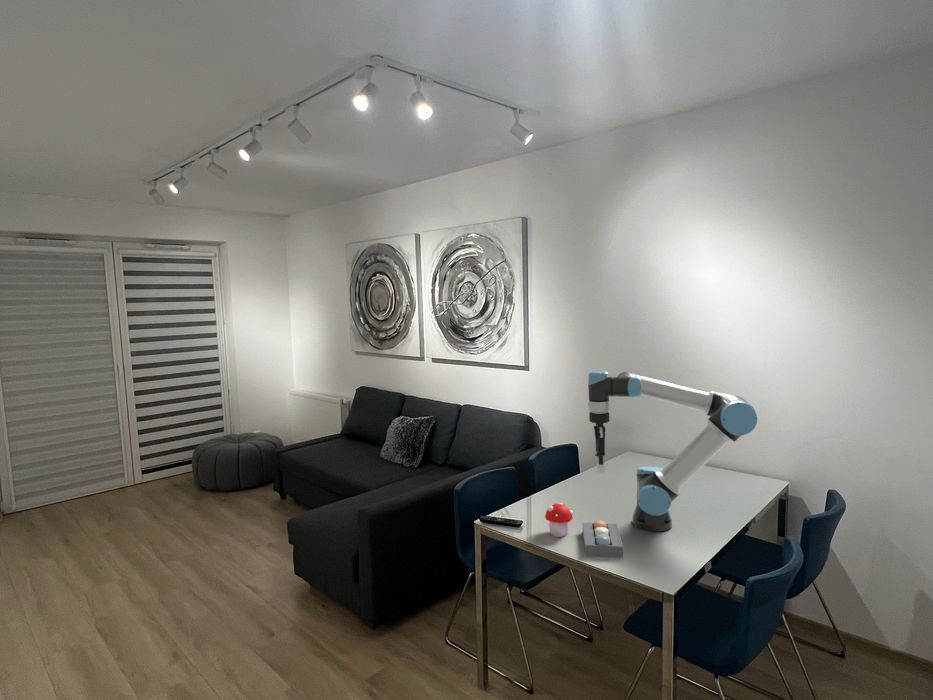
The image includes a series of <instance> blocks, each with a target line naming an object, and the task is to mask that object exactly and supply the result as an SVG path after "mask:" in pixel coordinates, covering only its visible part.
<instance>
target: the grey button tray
mask: <svg viewBox="0 0 933 700" xmlns="http://www.w3.org/2000/svg"><path fill="white" fill-rule="evenodd" d="M607 529H608V536H609V537H610V545H596V537H595V530H594V522H582V538H583V546H584V554H585V557H601V558H602V557H603V558H618V559H619V558H624V545H623V542H622V538H621V534H620V531H619V527H618V524H617V523H607Z"/></svg>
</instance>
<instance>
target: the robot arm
mask: <svg viewBox="0 0 933 700" xmlns="http://www.w3.org/2000/svg"><path fill="white" fill-rule="evenodd" d="M587 385H588V387H587V389H588V403H587V406H588V408H589V409H588V410H589V414H588V415H589V417H588V418H589V420H588V421H589V422H590V423H592V424H595V425H593V430H594V439H595V452H596V453H595V457H596V473H605V471H606V470H605V456H606V447H605V446H606V445H605V444H606V427H605V425H604V424H607V423H609V422H610V399H609V398H611V397H612V398H613V397H619V398H620V397H625V398H636V397H641V396H642V397H644V398H645V397H646V398H650V399H653V400H658V401H660V402H665V403H668V404H669V403H670V404H672V405H677V406H681V407H685V408H688V409H691V410H694V411H699V412H702V413H703V414H704V416H708V417H709V418H707V426H706V427H705V428H704V429H703V430H701V432H700V433H698V434H697V435H696V436H695V437H694V438H693V439H692V440H691V441H690V442H689V443H688V445H686V446H685V447H684V448H683V450H681V452H679V453H678V454H677V455H676V456H675V457H674V458H673V459H672V460H671V461H670V462H669V463H668V464H667V465H666V466H665V467H664V468H663V467H656V466H640V467H638V468H637V469H636V474H635V475H636V505H635V508H634V511H633V514H632V518H631V519H632V521H631V522H632V524H633V525H634V526H635V528H636V527H637V528H638V529H641V530H644V531H650V532H664V531H668V530H670V529H671V528H672V527H673V522H672V521H673V519H672V517H671V513H670V511H669V510H670V508H671V506H672V502H673V501H674V500H676V498H678V496H679V495H681V487H682V486H683V485H685V484H686V482H688V481H689V479H692V477H693V476H694V475H695V474H696V473H697V472H698V471H699V470H700V469H701V468H702V467H703V466H704V465H706V464H707V462H708V461H710V460H711V459H712V458H713V457H714V456H715V455H716V454H717V453H718V452H719V451H720V450H721V449H722V448H724V446H726V444H727V443H735V442H736V441H738V440H739V439H740V438H741V436H746V435H748V434H750V433H752V432H753V431H754V429H755V428H756V427H757V423H758V415H757V412H756V410H755V408H754V406H752V405H751V403H749V402H747V400H745V399H744V398H743V397H741V396H739V395H735V394H729V393H723V392H717V391H714V390H710V391H708V392H706V391H702V390H697V389H694V388H690V387H686V386H682V385H677V384H674V383H670V382H667V381H662V380H659V379H653V378H650V377H646V376H643V375H642V376H641V375H637V374H634V373H632V372H631V371H622V372H621V373H619V374H618V375H617V376H610V375H609V372H608V371H603V370H599V371H598V370H597V371H595V370H594V371H591V372H589V373H588V384H587Z"/></svg>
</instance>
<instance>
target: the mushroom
mask: <svg viewBox="0 0 933 700" xmlns="http://www.w3.org/2000/svg"><path fill="white" fill-rule="evenodd" d="M573 516H574V511H573V510H571V509H570V508H569V507H568V506H567V505H566V504H564V503H562V502H559V503H553V504H552V505H548V507H547V510H546V512H545V515H544V518H545V520H546V521H548V522H549V523H548V527H549V532H550V535H551V536H553V537H556V538H564V537H566V536H568V532H569V527H570V525H569V523H570V522H571V521H572V520H573V519H574V517H573Z"/></svg>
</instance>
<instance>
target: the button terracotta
mask: <svg viewBox="0 0 933 700" xmlns="http://www.w3.org/2000/svg"><path fill="white" fill-rule="evenodd" d="M593 523H594V530H595V528H597V527H604V528H607V524H608V523H607V522H606V521H605V520H599V519H598V520H595V521H593Z"/></svg>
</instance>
